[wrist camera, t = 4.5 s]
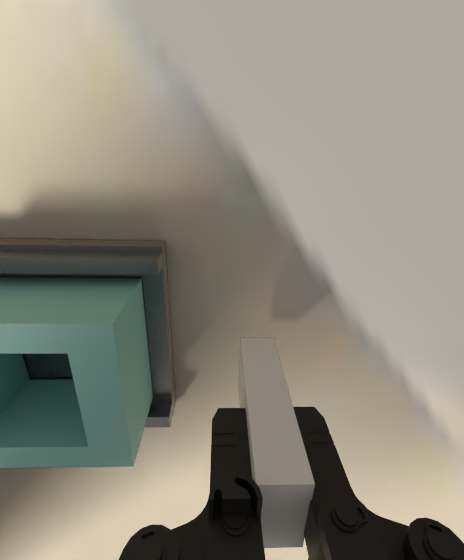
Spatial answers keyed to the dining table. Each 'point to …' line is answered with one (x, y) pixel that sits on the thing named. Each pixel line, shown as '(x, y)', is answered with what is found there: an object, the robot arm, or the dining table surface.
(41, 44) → the dining table surface
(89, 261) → the rail base
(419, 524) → the robot arm
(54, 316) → the block
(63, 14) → the dining table surface
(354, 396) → the dining table surface
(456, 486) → the dining table surface
